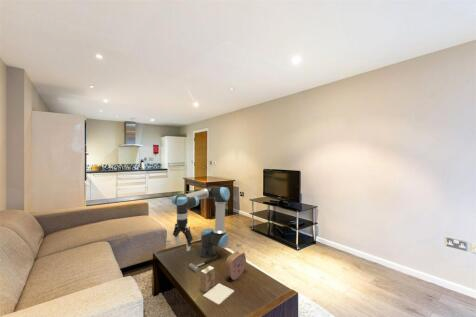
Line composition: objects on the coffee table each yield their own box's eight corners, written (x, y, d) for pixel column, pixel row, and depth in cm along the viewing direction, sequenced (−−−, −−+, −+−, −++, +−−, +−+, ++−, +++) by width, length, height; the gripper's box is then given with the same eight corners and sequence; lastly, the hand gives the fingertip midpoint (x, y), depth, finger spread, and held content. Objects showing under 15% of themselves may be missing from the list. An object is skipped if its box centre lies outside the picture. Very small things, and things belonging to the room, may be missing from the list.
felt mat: (219, 284, 150) (219, 283, 150) (234, 291, 142) (234, 290, 142) (203, 296, 138) (203, 295, 138) (218, 305, 129) (218, 304, 129)
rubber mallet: (223, 255, 187) (195, 268, 165) (223, 259, 187) (195, 273, 166) (216, 252, 194) (188, 264, 172) (216, 256, 194) (188, 268, 172)
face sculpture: (231, 283, 151) (231, 260, 151) (224, 280, 155) (224, 258, 155) (246, 271, 167) (246, 250, 167) (239, 268, 171) (239, 248, 171)
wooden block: (209, 283, 151) (209, 265, 151) (214, 286, 148) (214, 267, 148) (200, 289, 144) (200, 271, 144) (205, 292, 141) (205, 273, 141)
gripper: (167, 216, 154) (168, 244, 154) (189, 223, 139) (189, 254, 139) (176, 214, 160) (176, 241, 160) (197, 220, 144) (197, 250, 145)
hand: (182, 247), depth 150 cm, fingers open, 13 cm apart
